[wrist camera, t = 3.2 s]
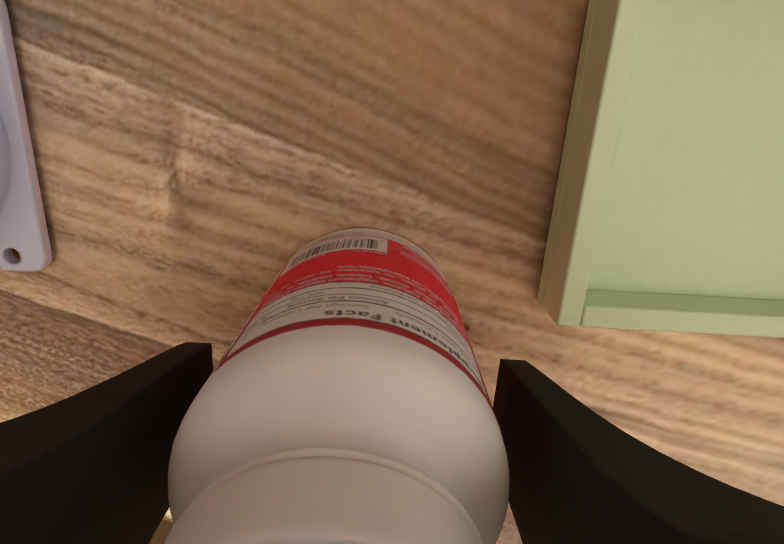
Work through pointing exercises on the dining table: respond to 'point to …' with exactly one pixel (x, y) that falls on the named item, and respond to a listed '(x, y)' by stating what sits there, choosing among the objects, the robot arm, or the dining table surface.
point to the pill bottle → (344, 412)
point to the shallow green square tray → (673, 171)
